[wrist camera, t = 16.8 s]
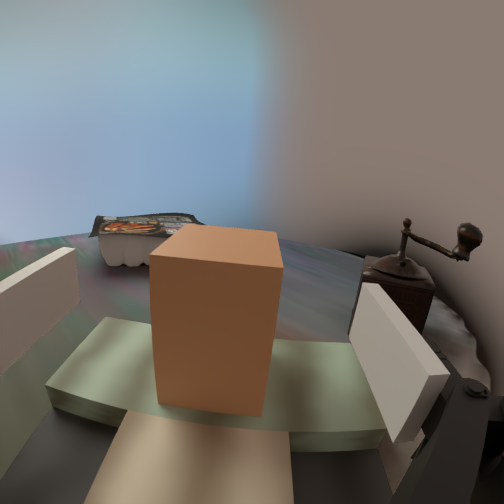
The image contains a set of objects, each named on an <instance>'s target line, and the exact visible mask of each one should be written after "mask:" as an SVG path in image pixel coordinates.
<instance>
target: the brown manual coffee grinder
mask: <svg viewBox="0 0 504 504" xmlns="http://www.w3.org/2000/svg"><path fill="white" fill-rule="evenodd" d="M411 224H412V222H411V220H410V219H408V218H406V219H405V220H404V221H403V225H404V227H403V228H402V229H401V232H402V239H401V245H400V249H399V252H398V253H397V254H396V255H389V256H384V257H382V258H377V257H371V256H366V257H365V260H364V264H363V269H362V274H361V278H360V282H359V287H358V291H357V296H356V300H355V304H354V308H353V310H352V316H351V321H350V325H349V330H348V335H349V333H350V330H351V326H352V323H353V319H354V315H355V311H356V307H357V303H358V299H359V295H360V291H361V287H362V283H374V284H379V285H380V287H381V288H382V289H383V290H384V291H385V292H386V294H387V295H388V296H389V297H390V298H391V300H392V301H393V302H394V303H395V304H396V305H397V307H398V308H399V309H400V310H401V312H402V313H403V314H404V315H405V316H406V318H407V319H408V320H409V321H410V323H411V324H412V325H413V326H414V327H415V329H416V330H417V331H418V332H419V334H420V335H422V331H423V328H424V325H425V322H426V319H427V316H428V313H429V310H430V306H431V303H432V299H433V296H434V293H435V285H434V283H433V281H432V279H431V277H430V275H429V273H428V272H427V270H426V269H425V268H424V267H420V266H418V265H417V264H416V263H415V262H414V261H413V260H412V259H410V258H408V257H406V255H405V250H406V244H407V240H408V236H409V237H410V238H411V239H413V240H414V241H415V242H418V243H420V244H422V245H425V246H428V247H430V248H432V249H434V250H436V251H438V252H440V253H442V254H444V255H446V256H448V257H449V258H453V259H456V260H457V261H459V260H461V261H462V260H465V261H469V259H470V252H471V251H472V250H473V249H475V248H476V247H478V246H480V244H481V242H482V236H483V235H482V233H481V231H480V230H479V228H477V227H475V226H474V225H472V224H471V223H462V224H460V226H459V227H458V229H457V236H458V244H457V245H456V246H455V248H454V249H453V250H452V252H451V251H449V250H447V249H445V248H443V247H441V246H440V245H438V244H435V243H433V242H431V241H428V240H426V239H424V238H420V237H418V236H416V235H414V234H412V233H411V229H410V226H411Z"/></svg>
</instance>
